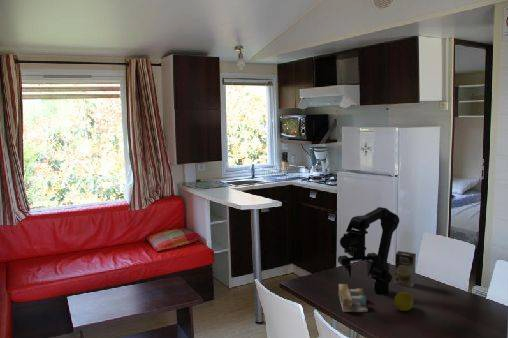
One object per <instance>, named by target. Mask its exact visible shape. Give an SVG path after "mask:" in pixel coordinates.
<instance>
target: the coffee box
mask: <svg viewBox="0 0 508 338" xmlns="http://www.w3.org/2000/svg"><path fill="white" fill-rule="evenodd" d="M416 254H417V253H415V252H414V253H413V252H409V251H401V250H398V251H397V252H396V253H395V265H394V267H395V268H394V284H395V285H400V286H406V287H410V288H413V286H414V285H415V283H416V258H417V255H416Z"/></svg>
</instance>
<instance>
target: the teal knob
mask: <svg viewBox="0 0 508 338" xmlns="http://www.w3.org/2000/svg"><path fill="white" fill-rule="evenodd" d="M351 298H352V303H354V304H360V305H366V306H367V296H366V294H363V295H359V296H351Z"/></svg>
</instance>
